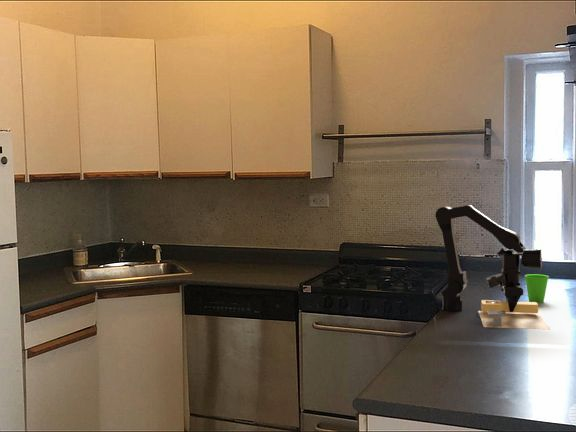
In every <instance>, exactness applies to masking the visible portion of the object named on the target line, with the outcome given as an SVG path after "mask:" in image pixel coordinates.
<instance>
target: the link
mask: <svg viewBox="0 0 576 432" xmlns="http://www.w3.org/2000/svg"><path fill="white" fill-rule="evenodd" d="M488 302H496V304H492V303H488ZM480 309H481V311H482V312H486V310H500V311H505V312H510V311H509V305H508V301H506V300H503V301H502V300H493V299H492V300H491V299H490V300H489V299H481V301H480ZM513 312H516V313H539V303H536V302H529V301H518V302H517V304H516V307H515V309H514V311H513Z"/></svg>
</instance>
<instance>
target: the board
mask: <svg viewBox="0 0 576 432" xmlns="http://www.w3.org/2000/svg"><path fill="white" fill-rule="evenodd" d="M477 312H478V316H479V317H480V320H481V324H482V326H483V328H499V329H501V328H502V329H525V330H526V329H532V330H536V329H537V330H551V328H550V327H549V324H548V323H547V322H546V321H545V320H544V318H543V317H542V316H541V315H540V313H539V312H538V313H516V312H506V314H507V316H501V317H502V323H501V327H496V326H493V316H488V315H487V312H482V310H478V311H477Z"/></svg>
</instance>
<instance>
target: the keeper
mask: <svg viewBox="0 0 576 432" xmlns="http://www.w3.org/2000/svg"><path fill="white" fill-rule="evenodd" d="M486 312H487V315H488V316H493V326H496V327H501V323H502V317H501V316H507V314H506V312H505V311H500V310H486Z"/></svg>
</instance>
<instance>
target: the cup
mask: <svg viewBox="0 0 576 432" xmlns="http://www.w3.org/2000/svg"><path fill="white" fill-rule="evenodd" d="M524 277H525V285H526V290H527V297H528V299H527V300H528V302H536V303H537V304H541V303H544V302H545V298H546V297H545V296H546V290H547V285H548V281H549V278H550V276H549V275H547V274H546V275H545V274H539V273H537V274H536V273H534V274H532V273H531V274H529V273H528V274H525V275H524Z"/></svg>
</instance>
